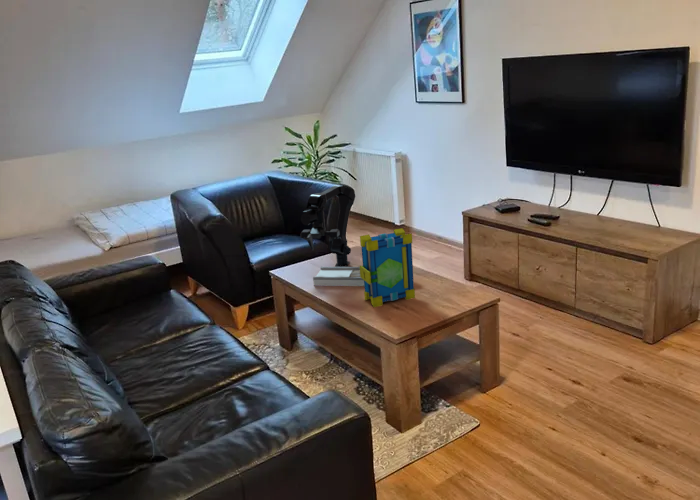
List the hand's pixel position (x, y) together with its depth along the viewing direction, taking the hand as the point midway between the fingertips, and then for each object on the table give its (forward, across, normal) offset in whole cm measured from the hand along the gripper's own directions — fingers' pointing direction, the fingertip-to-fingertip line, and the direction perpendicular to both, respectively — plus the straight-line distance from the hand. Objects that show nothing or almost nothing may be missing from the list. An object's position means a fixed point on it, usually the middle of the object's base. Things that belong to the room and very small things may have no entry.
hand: (321, 250), depth 315 cm
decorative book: (+13, +39, -30) cm, 51 cm away
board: (+13, +14, -8) cm, 21 cm away
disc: (+13, +22, -8) cm, 26 cm away
